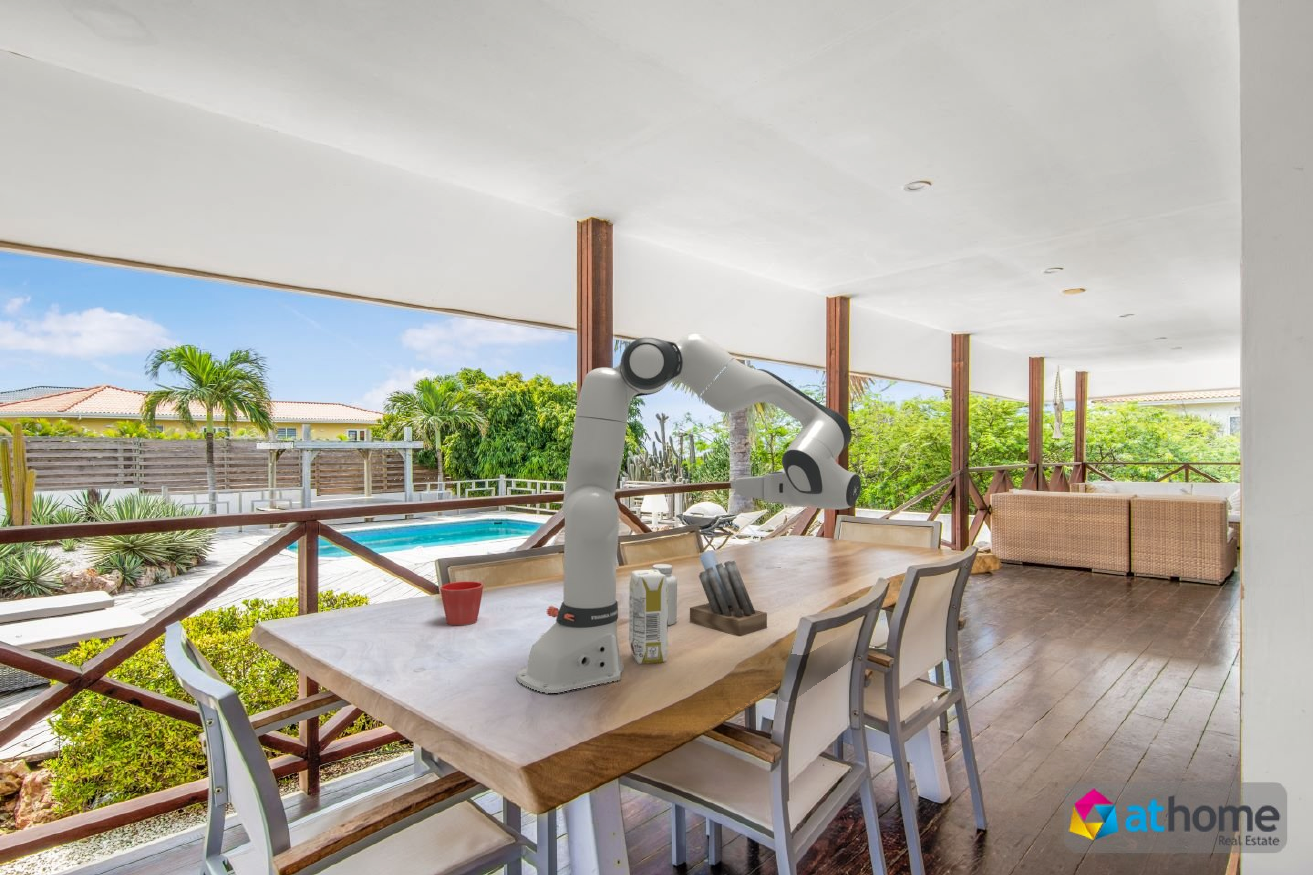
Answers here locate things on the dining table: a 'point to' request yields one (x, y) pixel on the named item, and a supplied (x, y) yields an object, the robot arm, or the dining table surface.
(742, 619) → the slanted rod rack
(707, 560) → the peg
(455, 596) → the flower pot
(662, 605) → the juice carton
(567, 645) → the robot arm
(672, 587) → the pill bottle
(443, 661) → the dining table surface
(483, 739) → the dining table surface
